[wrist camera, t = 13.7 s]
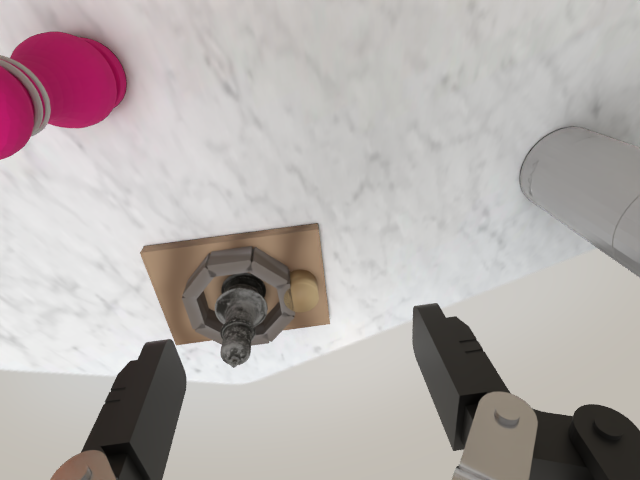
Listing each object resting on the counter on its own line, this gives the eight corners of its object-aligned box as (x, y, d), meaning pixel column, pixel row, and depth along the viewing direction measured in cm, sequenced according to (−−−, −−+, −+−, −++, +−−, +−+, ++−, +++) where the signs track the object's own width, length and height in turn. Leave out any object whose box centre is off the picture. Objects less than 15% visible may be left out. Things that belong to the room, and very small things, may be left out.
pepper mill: (128, 37, 34) (-33, 49, 17) (136, 120, 37) (9, 203, 20) (39, 25, 33) (-231, 24, 16) (55, 111, 36) (-152, 190, 19)
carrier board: (317, 223, 45) (321, 242, 41) (328, 316, 51) (332, 340, 47) (144, 246, 44) (130, 267, 40) (178, 337, 51) (170, 362, 47)
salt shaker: (274, 303, 48) (272, 381, 37) (228, 314, 48) (214, 394, 37) (260, 265, 45) (254, 337, 34) (211, 276, 45) (191, 352, 35)
